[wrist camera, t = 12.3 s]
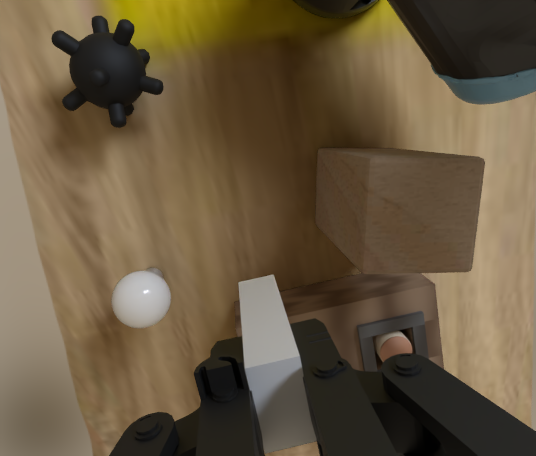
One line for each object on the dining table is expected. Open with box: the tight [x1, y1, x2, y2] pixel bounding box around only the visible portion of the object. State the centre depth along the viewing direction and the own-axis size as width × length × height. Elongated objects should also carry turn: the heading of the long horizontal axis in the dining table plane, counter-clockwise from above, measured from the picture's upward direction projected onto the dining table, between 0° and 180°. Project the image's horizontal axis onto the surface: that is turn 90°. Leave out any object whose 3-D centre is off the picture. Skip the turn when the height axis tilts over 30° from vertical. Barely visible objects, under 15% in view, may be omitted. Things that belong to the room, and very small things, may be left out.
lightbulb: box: [111, 268, 171, 328], centre depth 49 cm, size 6×6×11 cm
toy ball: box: [52, 16, 163, 128], centre depth 44 cm, size 11×11×12 cm
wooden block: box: [315, 148, 485, 274], centre depth 45 cm, size 10×10×20 cm
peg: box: [372, 330, 412, 362], centre depth 54 cm, size 4×4×8 cm
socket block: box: [235, 273, 444, 372], centre depth 54 cm, size 24×14×9 cm, turn 101°
